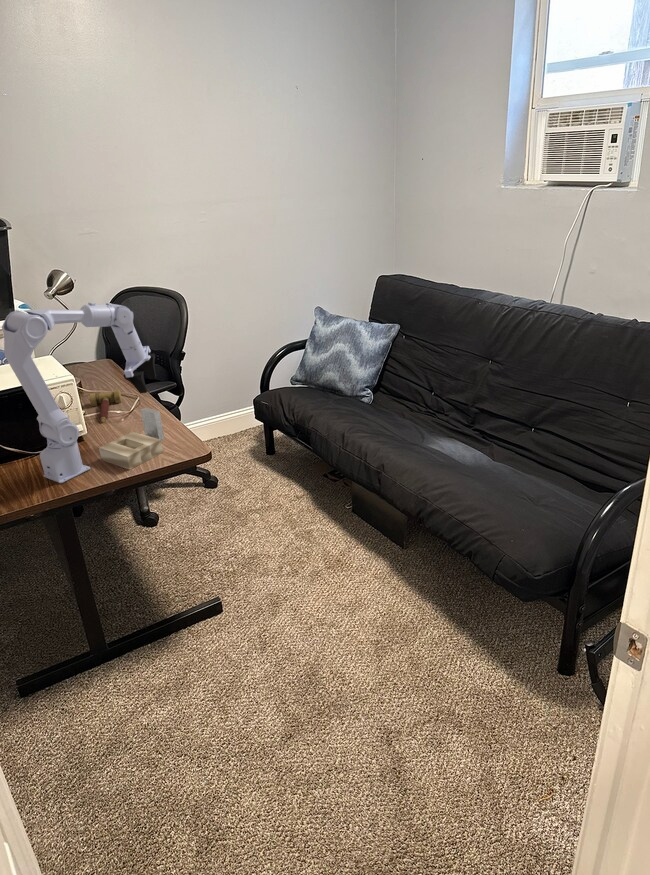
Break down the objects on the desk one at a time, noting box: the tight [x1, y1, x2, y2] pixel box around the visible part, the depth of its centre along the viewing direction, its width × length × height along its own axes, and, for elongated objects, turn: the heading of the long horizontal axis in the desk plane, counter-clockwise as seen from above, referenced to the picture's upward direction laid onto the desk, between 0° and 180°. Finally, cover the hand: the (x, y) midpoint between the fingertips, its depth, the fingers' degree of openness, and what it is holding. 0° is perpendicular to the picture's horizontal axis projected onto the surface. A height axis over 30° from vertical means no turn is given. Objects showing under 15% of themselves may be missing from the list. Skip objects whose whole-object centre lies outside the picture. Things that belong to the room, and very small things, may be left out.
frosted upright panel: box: [140, 407, 165, 441], centre depth 182 cm, size 2×6×9 cm, turn 56°
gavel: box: [89, 389, 123, 423], centre depth 205 cm, size 21×5×10 cm
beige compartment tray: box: [98, 431, 164, 471], centre depth 172 cm, size 12×12×4 cm
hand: (148, 385), depth 179 cm, fingers open, 7 cm apart
